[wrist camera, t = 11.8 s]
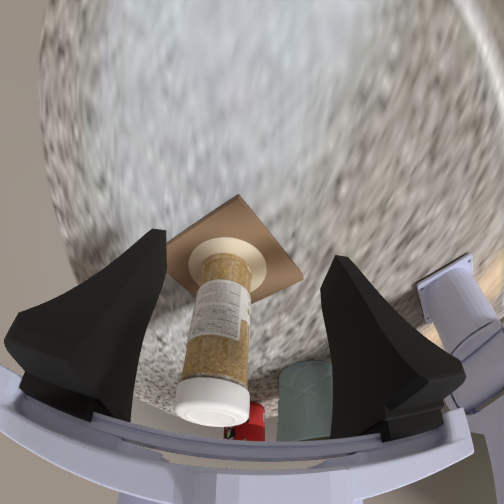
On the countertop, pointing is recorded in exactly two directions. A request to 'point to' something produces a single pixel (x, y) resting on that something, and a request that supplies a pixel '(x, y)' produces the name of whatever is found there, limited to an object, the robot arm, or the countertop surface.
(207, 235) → the spice coaster
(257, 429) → the canned food
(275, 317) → the countertop surface
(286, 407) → the grey-green tapered cup
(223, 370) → the spice jar
